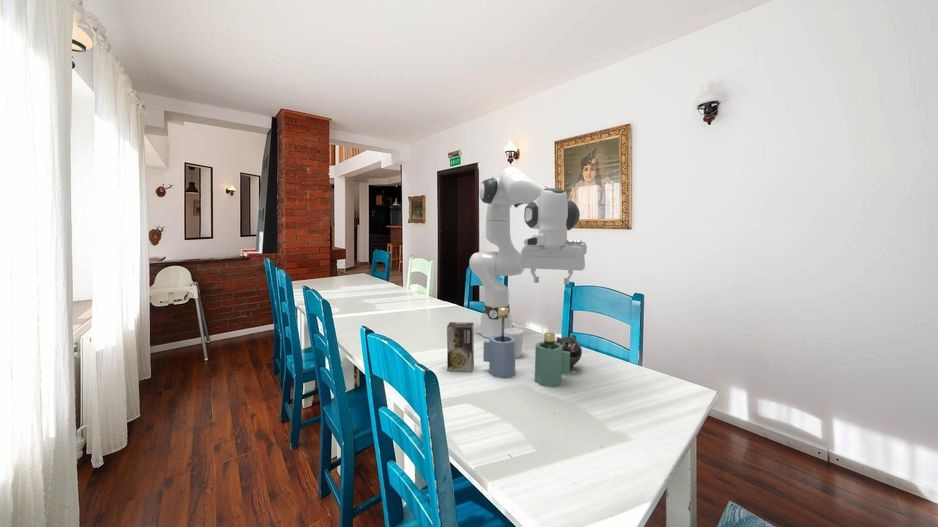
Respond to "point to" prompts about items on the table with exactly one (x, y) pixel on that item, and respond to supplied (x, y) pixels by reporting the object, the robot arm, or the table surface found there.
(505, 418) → the table surface
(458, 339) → the coffee box
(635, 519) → the table surface
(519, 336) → the white cup
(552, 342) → the shiny brass cylinder
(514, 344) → the blue pot
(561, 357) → the green mug
